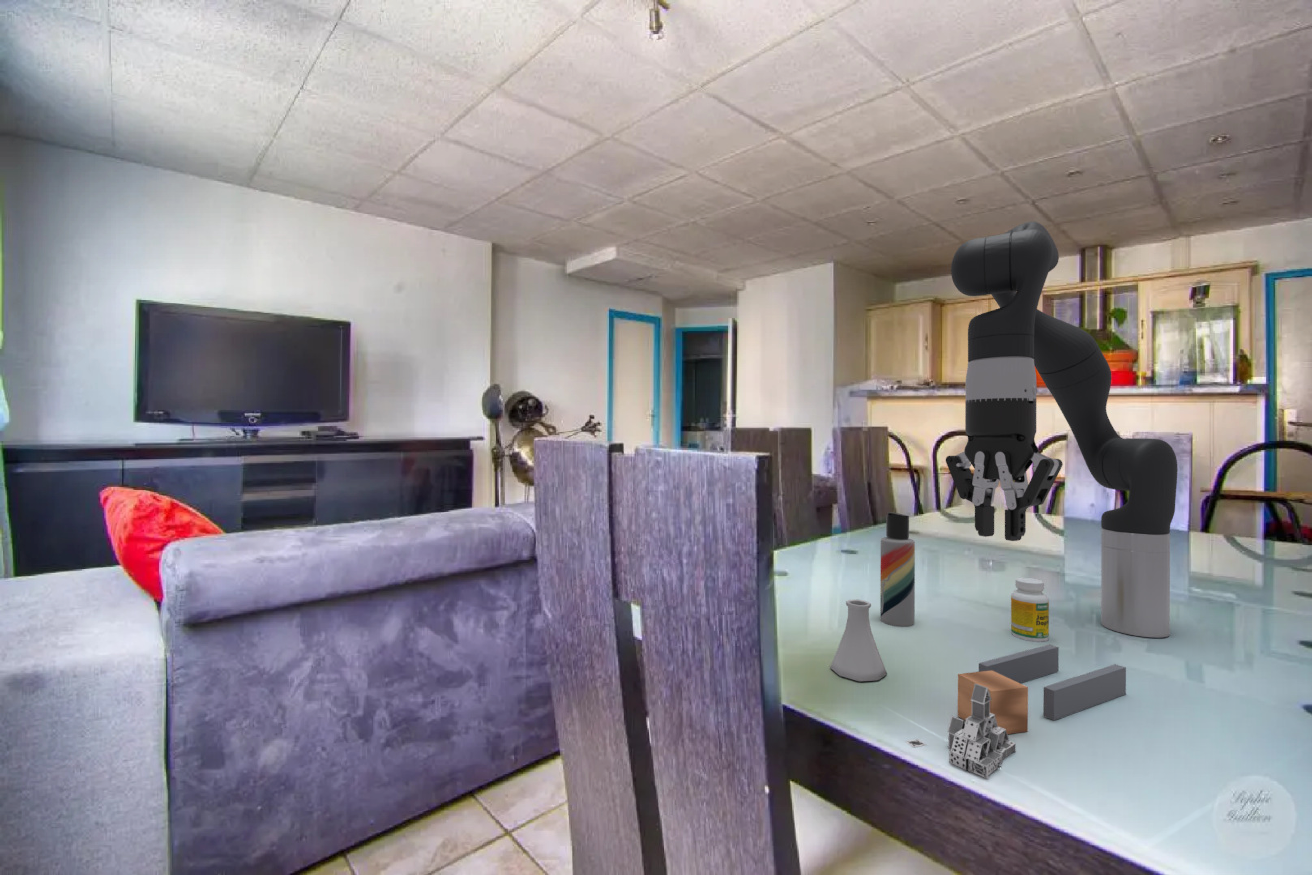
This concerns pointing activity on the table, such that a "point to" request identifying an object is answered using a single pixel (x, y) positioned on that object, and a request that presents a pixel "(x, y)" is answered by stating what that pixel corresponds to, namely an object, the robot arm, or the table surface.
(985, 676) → the terracotta block
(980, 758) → the house of cards
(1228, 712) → the table surface
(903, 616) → the lotion bottle
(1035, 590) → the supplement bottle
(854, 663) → the flask
